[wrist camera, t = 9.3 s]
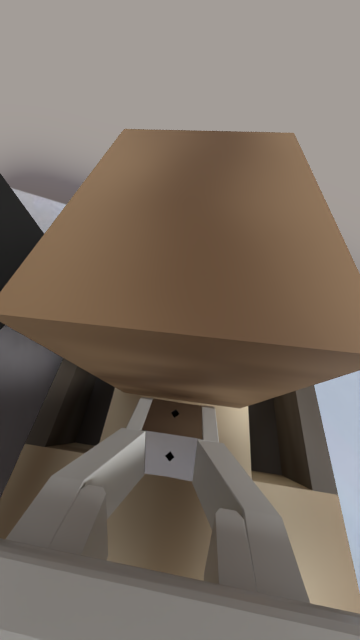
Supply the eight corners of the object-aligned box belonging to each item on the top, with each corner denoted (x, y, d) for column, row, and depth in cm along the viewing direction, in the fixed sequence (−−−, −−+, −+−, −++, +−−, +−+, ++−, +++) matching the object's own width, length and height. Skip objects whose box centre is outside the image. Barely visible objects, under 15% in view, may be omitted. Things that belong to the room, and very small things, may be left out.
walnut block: (124, 392, 10) (-16, 312, 3) (154, 278, 14) (123, 129, 7) (239, 408, 9) (398, 357, 2) (236, 285, 13) (293, 132, 6)
